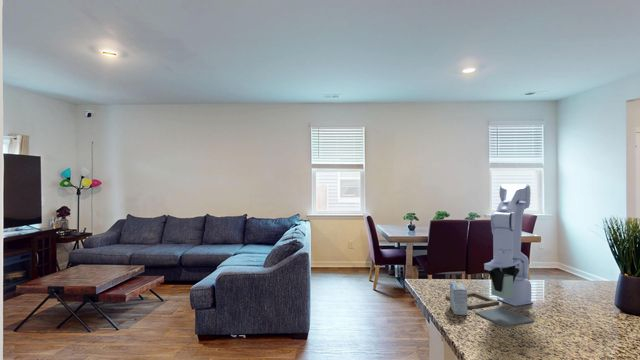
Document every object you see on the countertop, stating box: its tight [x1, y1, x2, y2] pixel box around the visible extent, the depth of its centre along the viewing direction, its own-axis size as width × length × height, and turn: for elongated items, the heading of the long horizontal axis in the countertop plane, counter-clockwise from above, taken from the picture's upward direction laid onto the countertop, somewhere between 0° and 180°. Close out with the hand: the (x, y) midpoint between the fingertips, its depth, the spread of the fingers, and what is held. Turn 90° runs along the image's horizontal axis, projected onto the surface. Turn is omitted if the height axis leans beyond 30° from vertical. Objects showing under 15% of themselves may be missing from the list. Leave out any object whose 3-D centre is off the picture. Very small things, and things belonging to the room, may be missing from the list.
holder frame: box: [445, 291, 500, 310], centre depth 129 cm, size 14×12×1 cm
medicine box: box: [449, 282, 469, 316], centre depth 120 cm, size 8×4×9 cm, turn 168°
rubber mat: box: [474, 307, 534, 328], centre depth 114 cm, size 12×12×1 cm
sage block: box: [490, 274, 513, 299], centre depth 114 cm, size 4×5×7 cm
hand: (503, 289), depth 114 cm, fingers closed on sage block, 4 cm apart
